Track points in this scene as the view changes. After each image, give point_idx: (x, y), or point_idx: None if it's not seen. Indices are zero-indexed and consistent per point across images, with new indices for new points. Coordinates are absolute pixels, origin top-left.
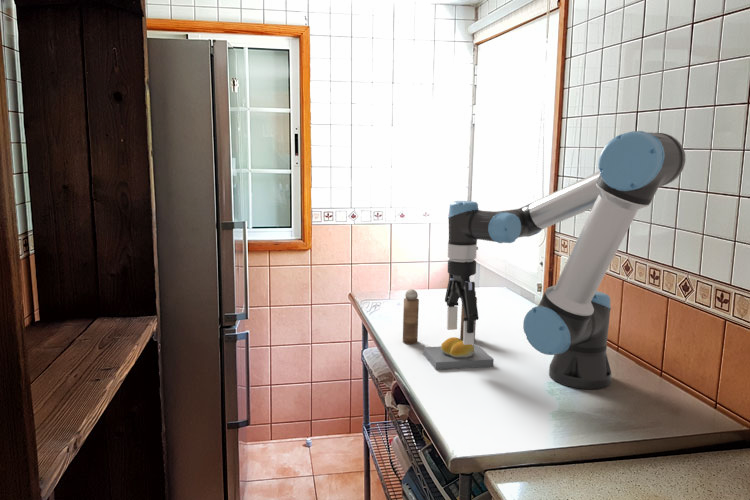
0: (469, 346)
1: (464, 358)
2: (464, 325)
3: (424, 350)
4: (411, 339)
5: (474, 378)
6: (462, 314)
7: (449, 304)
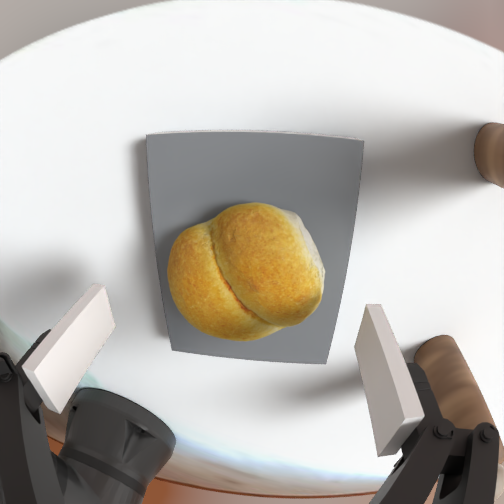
0: (186, 318)
1: None
2: (39, 346)
3: (341, 137)
4: (486, 147)
5: (87, 242)
6: (471, 404)
7: (417, 441)
